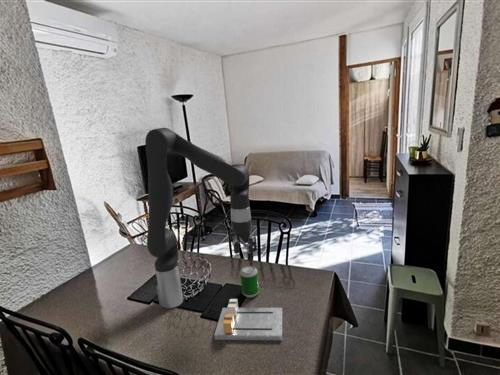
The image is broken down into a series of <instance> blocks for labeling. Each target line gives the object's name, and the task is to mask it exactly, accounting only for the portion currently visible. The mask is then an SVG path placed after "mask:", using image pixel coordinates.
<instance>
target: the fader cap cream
mask: <svg viewBox="0 0 500 375" xmlns="http://www.w3.org/2000/svg"><path fill="white" fill-rule="evenodd" d="M227 308H228V314H234V316H236V315H237V311H238V308H239V302H238V298H230V299H229V301H228V305H227Z"/></svg>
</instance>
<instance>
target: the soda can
mask: <svg viewBox="0 0 500 375" xmlns="http://www.w3.org/2000/svg"><path fill="white" fill-rule="evenodd" d="M239 274H240V283H241V286H240V287H241V294H243V296H245V297H246V298H254V297H256V296H257V295H258V294H259V292H260V286H259V274H258V269H257V268H256V267H255V266H253V265H246V266H244V267H242V269H241V270H240V272H239Z"/></svg>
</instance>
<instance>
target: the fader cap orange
mask: <svg viewBox="0 0 500 375" xmlns="http://www.w3.org/2000/svg"><path fill="white" fill-rule="evenodd" d="M234 324H235V322H234V314H225V317H224V321H223V328H224V333H232V332H233V328H234Z"/></svg>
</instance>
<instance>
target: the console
mask: <svg viewBox="0 0 500 375" xmlns="http://www.w3.org/2000/svg"><path fill="white" fill-rule="evenodd" d="M225 314H228V307H222V310H221V312H220V315H219V318H218V322H217V324H216V328H215V332H214V334H213V335H214V340H218V341H219V340H222V341H223V340H226V341H229V340H230V341H231V340H232V341H283V307H238V311H237V315H236V316H234V322H235V324H234V328H233V332H232V333H224V328H223V321H224V317H225Z"/></svg>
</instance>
